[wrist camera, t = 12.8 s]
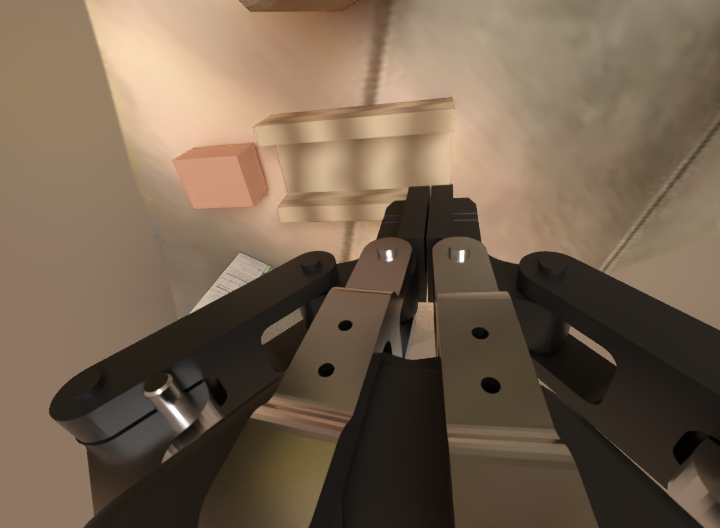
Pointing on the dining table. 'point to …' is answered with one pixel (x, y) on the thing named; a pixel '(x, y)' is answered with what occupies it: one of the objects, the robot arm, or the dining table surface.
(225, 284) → the syrup box
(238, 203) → the block
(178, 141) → the dining table surface
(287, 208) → the chute
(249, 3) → the wooden block
